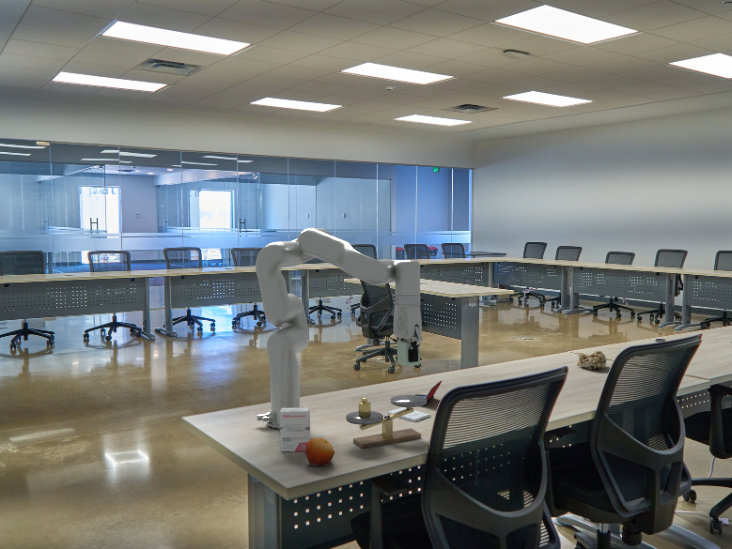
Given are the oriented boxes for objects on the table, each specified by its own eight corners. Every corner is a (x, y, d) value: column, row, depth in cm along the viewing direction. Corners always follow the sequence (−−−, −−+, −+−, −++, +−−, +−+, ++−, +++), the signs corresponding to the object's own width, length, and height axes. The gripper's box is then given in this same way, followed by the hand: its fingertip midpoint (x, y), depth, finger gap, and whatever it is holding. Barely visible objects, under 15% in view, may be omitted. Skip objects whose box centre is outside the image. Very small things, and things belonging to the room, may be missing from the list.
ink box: (311, 445, 179) (310, 406, 178) (310, 451, 174) (309, 411, 173) (281, 446, 178) (281, 406, 178) (279, 452, 174) (279, 411, 173)
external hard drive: (403, 411, 214) (430, 418, 205) (387, 416, 208) (414, 423, 199) (403, 406, 214) (430, 413, 205) (387, 411, 208) (414, 419, 199)
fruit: (298, 454, 168) (313, 429, 168) (323, 467, 169) (337, 442, 169) (297, 465, 160) (313, 439, 160) (323, 479, 161) (338, 453, 160)
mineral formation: (606, 365, 279) (613, 370, 264) (576, 369, 282) (581, 375, 267) (603, 348, 279) (609, 352, 265) (573, 352, 282) (578, 357, 267)
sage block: (405, 366, 181) (405, 343, 180) (397, 363, 185) (397, 340, 185) (420, 364, 183) (419, 341, 183) (411, 361, 188) (411, 339, 187)
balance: (356, 453, 172) (355, 405, 171) (340, 441, 182) (339, 395, 181) (433, 438, 183) (433, 393, 182) (415, 428, 193) (414, 385, 192)
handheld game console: (415, 396, 231) (415, 377, 231) (442, 399, 227) (442, 380, 227) (404, 405, 220) (403, 385, 220) (432, 408, 216) (432, 387, 215)
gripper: (383, 299, 189) (384, 356, 190) (411, 304, 174) (412, 366, 175) (404, 297, 192) (405, 354, 193) (433, 302, 177) (434, 363, 178)
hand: (408, 359), depth 184 cm, fingers closed on sage block, 5 cm apart
